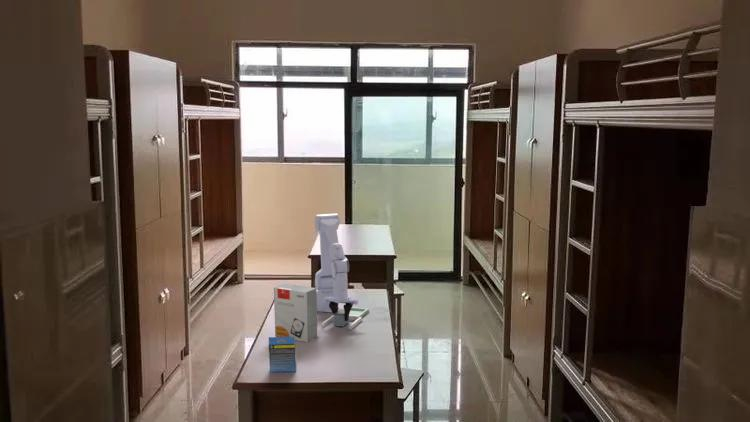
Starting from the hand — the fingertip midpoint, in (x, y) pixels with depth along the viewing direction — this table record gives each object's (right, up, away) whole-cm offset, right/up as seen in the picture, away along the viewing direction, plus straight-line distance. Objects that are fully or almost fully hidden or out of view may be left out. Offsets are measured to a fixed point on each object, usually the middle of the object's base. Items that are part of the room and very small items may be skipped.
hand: (341, 320), depth 273 cm
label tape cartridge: (-17, -9, -49) cm, 53 cm away
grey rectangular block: (0, -1, 0) cm, 1 cm away
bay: (0, -2, +1) cm, 2 cm away
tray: (+5, 0, +13) cm, 14 cm away
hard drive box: (-17, -4, -15) cm, 23 cm away
